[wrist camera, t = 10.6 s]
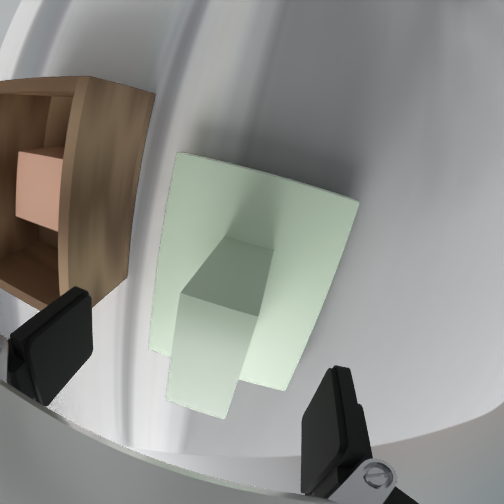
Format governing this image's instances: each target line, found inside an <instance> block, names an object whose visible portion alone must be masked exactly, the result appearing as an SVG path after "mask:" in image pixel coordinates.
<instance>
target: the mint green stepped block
mask: <svg viewBox="0 0 504 504" xmlns="http://www.w3.org/2000/svg"><path fill="white" fill-rule="evenodd" d="M359 204H360V202H359V201H358V200H356V199H353V198H350V197H347V196H344V195H341V194H338V193H335V192H332V191H328V190H325V189H322V188H319V187H315V186H312V185H309V184H305V183H302V182H299V181H295V180H292V179H288V178H285V177H281V176H278V175H274V174H270V173H267V172H263V171H259V170H256V169H252V168H248V167H244V166H240V165H236V164H232V163H228V162H224V161H220V160H216V159H211V158H207V157H203V156H198V155H194V154H189V153H185V152H177V154H176V159H175V164H174V169H173V174H172V179H171V184H170V189H169V195H168V200H167V206H166V211H165V217H164V223H163V230H162V236H161V243H160V249H159V256H158V264H157V271H156V279H155V287H154V296H153V305H152V315H151V325H150V337H149V350H152V351H154V352H157V353H160V354H163V355H165V356H168V357H171V359H170V367H169V375H168V384H167V392H166V401H169V402H172V403H175V404H178V405H180V406H183V407H186V408H189V409H192V410H195V411H198V412H201V413H205V414H208V415H211V416H214V417H218V418H221V419H225V418H226V415H227V412H228V409H229V406H230V403H231V400H232V397H233V394H234V391H235V388H236V385H237V382H238V379H240V380H243V381H247V382H250V383H254V384H258V385H262V386H266V387H270V388H273V389H278V390H282V391H285V390H286V388H287V386H288V384H289V381H290V379H291V377H292V375H293V373H294V371H295V368H296V366H297V364H298V362H299V360H300V357H301V355H302V353H303V351H304V348H305V346H306V344H307V341H308V339H309V337H310V334H311V332H312V330H313V327H314V325H315V323H316V320H317V318H318V315H319V313H320V310H321V308H322V305H323V303H324V300H325V298H326V295H327V293H328V290H329V288H330V285H331V283H332V280H333V277H334V275H335V272H336V269H337V267H338V264H339V261H340V259H341V256H342V253H343V250H344V248H345V245H346V242H347V239H348V236H349V233H350V231H351V228H352V225H353V222H354V219H355V216H356V213H357V210H358V207H359Z"/></svg>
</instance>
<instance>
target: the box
mask: <svg viewBox="0 0 504 504" xmlns="http://www.w3.org/2000/svg"><path fill="white" fill-rule="evenodd" d="M155 95H156V94H154V93H150V92H147V91H144V90H140V89H137V88H133V87H130V86H126V85H122V84H119V83H115V82H111V81H107V80H103V79H99V78H95V77H91V76H61V77H39V78H25V79H14V80H5V81H0V288H2V289H4V290H5V291H7V292H9V293H10V294H12V295H14V296H15V297H17V298H19V299H20V300H22V301H24V302H26V303H28V304H29V305H31V306H33V307H35V308H37V309H38V310H40V311H41V310H43V309H44V308H45V307H47V306H48V305H49V304H51V303H52V302H53V301H55V300H56V299H57V298H59V297H60V296H61V295H63V294H64V293H66V292H67V291H68V290H70V289H71V288H73V287H74V286H77V287H79V288H82V289H84V290H87V291H88V292H89V295H90V296H91V298H92V307H94V306H95V305H96V304H97V303H98V302H99V301H100V300H102V299H103V298H104V297H105V296H106V295H107V294H108V293H110V292H111V291H112V290H113V289H114V288H115V287H117V286H118V285H119V284H120V283H121V282H122V281H124V280H125V279H126V278H127V272H128V259H129V248H130V238H131V229H132V221H133V213H134V205H135V198H136V191H137V185H138V179H139V172H140V167H141V161H142V155H143V150H144V145H145V140H146V135H147V130H148V125H149V121H150V116H151V112H152V107H153V103H154V99H155ZM59 146H61V147H65V149H64V157H63V165H62V175H61V186H60V200H59V222H58V231H55V230H52V229H49V228H47V227H44V226H41V225H38V224H36V223H33V222H30V221H28V220H25V219H22V218H20V217H17V216H16V182H17V166H18V154H19V151H25V150H33V149H41V148H50V147H59Z"/></svg>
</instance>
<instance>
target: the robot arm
mask: <svg viewBox="0 0 504 504" xmlns="http://www.w3.org/2000/svg"><path fill="white" fill-rule="evenodd" d="M92 352H93V337H92V298H91V296H90V295H89V292H88V291H87V290H84V289H82V288H79V287H77V286H74V287H73V288H71V289H70V290H68V291H67V292H66V293H64V294H63V295H61V296H60V297H59V298H57V299H56V300H55V301H53V302H52V303H51V304H49V305H48V306H47V307H45V308H44V309H43V310H41V311H40V312H39V313H37V314H36V315H35V316H33V317H32V318H31V319H29V320H28V321H27V322H26V323H24V324H23V325H22V326H20V327H19V328H18V329H17V330H15V331H14V332H13V333H11V334H10V339H8V340H6V338H5V337H4V336H2V335H0V504H418V503H417V502H416V501H414V500H413V499H412V498H410V497H409V496H408V495H406V494H405V493H403V492H402V491H401V490H399V489H398V488H397V487H396V486H395V485H396V483H397V474H396V471H395V470H394V468H393V467H392V466H391V465H390V464H389V463H387V462H385V461H384V460H380V459H373V457H372V452H371V446H370V441H369V436H368V431H367V426H366V421H365V416H364V411H363V408H362V405H360V404H358V403H357V398H356V393H355V389H354V384H353V379H352V375H351V370H350V369H349V368H346V367H341V366H334V367H333V368H329V369H328V370H327V372H326V373H325V375H324V377H323V379H322V381H321V383H320V385H319V387H318V389H317V391H316V393H315V395H314V396H313V398H312V400H311V402H310V404H309V406H308V408H307V409H306V411H305V413H304V415H303V418H302V445H301V493H305V495H300V494H294V493H287V492H281V491H275V490H269V489H264V488H259V487H254V486H249V485H244V484H239V483H235V482H230V481H226V480H222V479H218V478H214V477H211V476H206V475H203V474H199V473H196V472H193V471H189V470H186V469H183V468H180V467H177V466H173V465H171V464H167V463H165V462H162V461H159V460H156V459H154V458H151V457H148V456H146V455H143V454H140V453H138V452H135V451H133V450H130V449H128V448H126V447H123V446H121V445H119V444H116V443H114V442H112V441H110V440H107V439H105V438H103V437H101V436H99V435H97V434H95V433H93V432H91V431H88V430H86V429H84V428H82V427H81V426H79V425H77V424H75V423H73V422H71V421H69V420H67V419H65V418H64V417H62V416H60V415H58V414H56V413H55V412H53V411H51V410H50V409H48V408H46V407H45V406H48V405H49V404H50V403H51V401H52V400H53V399H54V398H55V397H56V396H57V394H58V393H59V392H60V391H61V390H62V388H63V387H64V386H65V385H66V384H67V383H68V381H69V380H70V379H71V378H72V377H73V376H74V374H75V373H76V372H77V371H78V370H79V369H80V368H81V366H82V365H83V364H84V363H85V362H86V361H87V360H88V358H89V357H90V356H91V354H92Z"/></svg>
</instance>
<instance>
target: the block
mask: <svg viewBox="0 0 504 504" xmlns="http://www.w3.org/2000/svg"><path fill="white" fill-rule="evenodd" d="M64 149H65V147H61V146H59V147H50V148H41V149H33V150H25V151H19V154H18V166H17V182H16V216H17V217H20V218H22V219H25V220H28V221H30V222H33V223H36V224H38V225H41V226H44V227H47V228H49V229H52V230H55V231H58V222H59V200H60V186H61V175H62V165H63V157H64Z"/></svg>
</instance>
